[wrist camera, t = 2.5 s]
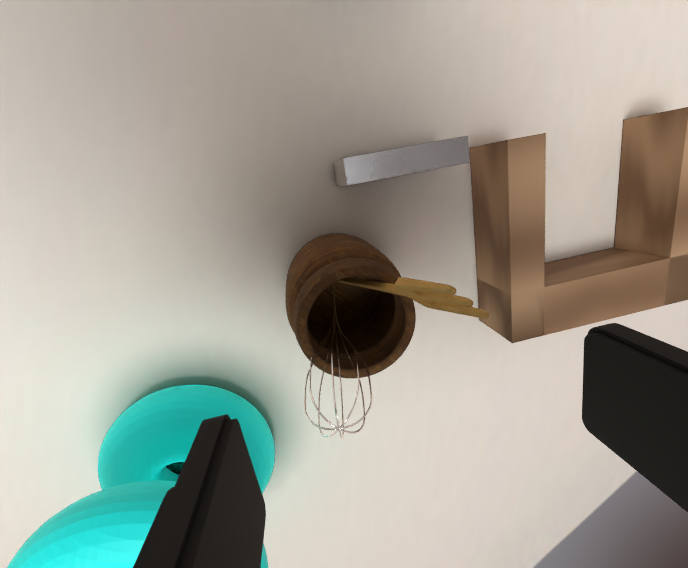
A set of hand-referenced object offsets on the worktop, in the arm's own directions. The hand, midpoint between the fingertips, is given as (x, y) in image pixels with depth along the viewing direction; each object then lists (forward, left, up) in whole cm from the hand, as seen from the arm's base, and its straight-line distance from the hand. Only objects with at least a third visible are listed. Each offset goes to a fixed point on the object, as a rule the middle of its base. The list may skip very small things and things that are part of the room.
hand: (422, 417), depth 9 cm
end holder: (-1, +15, -12) cm, 19 cm away
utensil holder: (-1, 0, -13) cm, 13 cm away
